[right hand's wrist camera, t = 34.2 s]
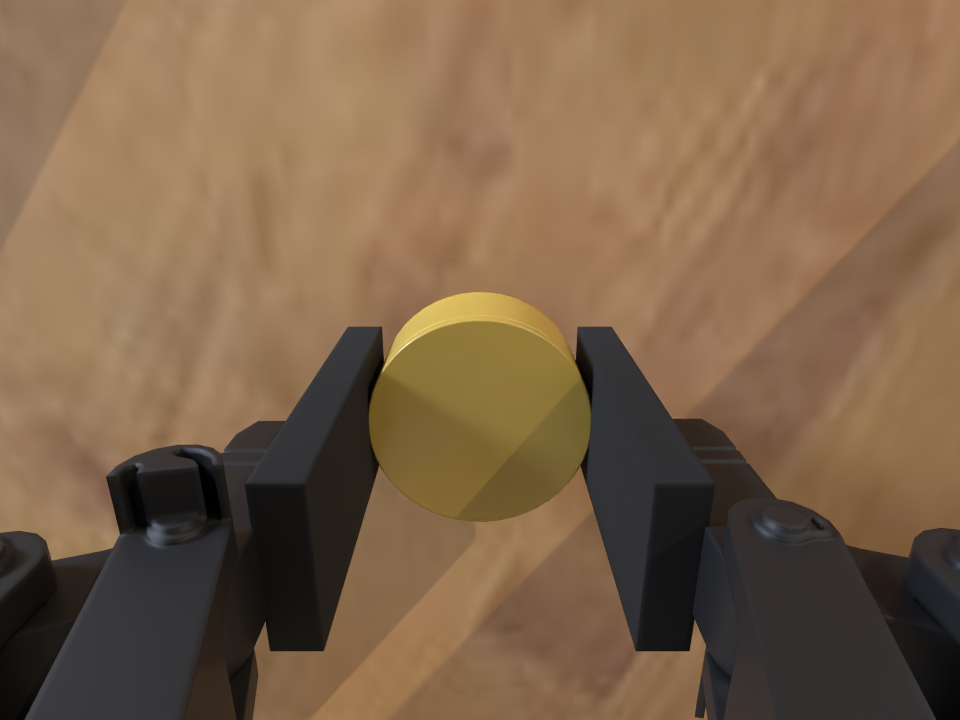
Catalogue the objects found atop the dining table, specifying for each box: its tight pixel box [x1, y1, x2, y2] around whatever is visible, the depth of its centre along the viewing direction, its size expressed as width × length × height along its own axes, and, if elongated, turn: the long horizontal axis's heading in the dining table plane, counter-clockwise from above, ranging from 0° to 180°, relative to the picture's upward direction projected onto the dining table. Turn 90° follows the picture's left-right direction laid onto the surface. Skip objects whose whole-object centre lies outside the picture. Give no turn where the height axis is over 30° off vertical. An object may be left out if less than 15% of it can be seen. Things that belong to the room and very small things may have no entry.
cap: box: [368, 292, 591, 522], centre depth 13 cm, size 4×4×2 cm
